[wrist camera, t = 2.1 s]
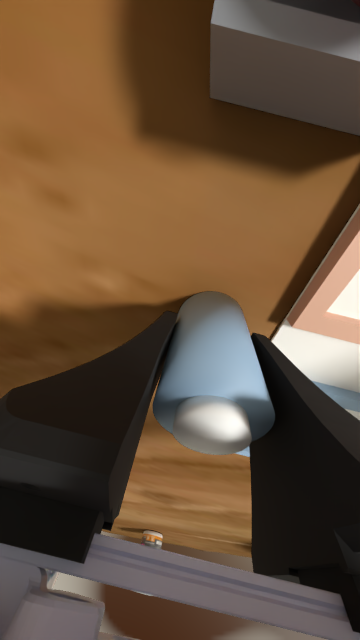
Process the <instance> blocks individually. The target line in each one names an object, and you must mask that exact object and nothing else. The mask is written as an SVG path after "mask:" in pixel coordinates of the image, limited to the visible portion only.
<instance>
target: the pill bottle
mask: <svg viewBox="0 0 360 640" xmlns="http://www.w3.org/2000/svg"><path fill="white" fill-rule="evenodd" d="M141 545H145V546H149V547H153V548H157V549H161V545H162V534H160V533H158V532H155V531H151V530H145V531H144V533H143V537H142V542H141ZM135 592H136V591H135ZM139 593H140V592H139ZM142 594H144V593H142ZM146 595H148V594H146ZM150 596H152V595H150Z"/></svg>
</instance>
